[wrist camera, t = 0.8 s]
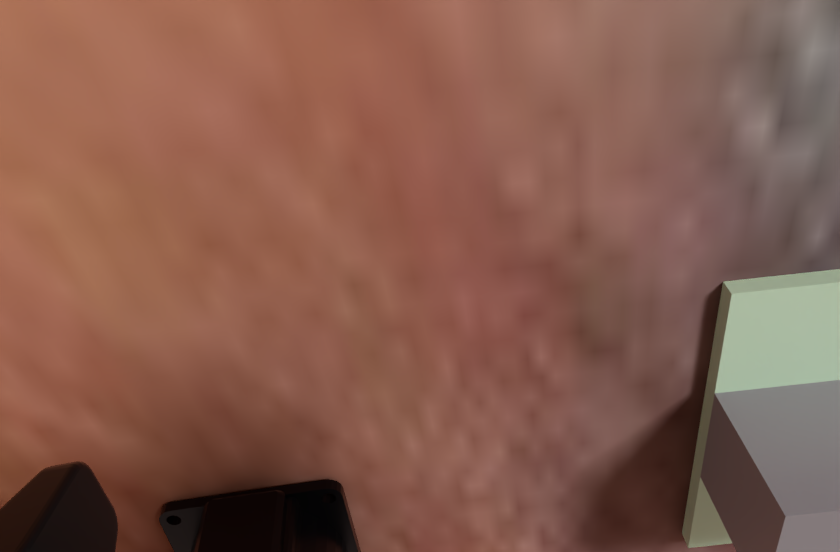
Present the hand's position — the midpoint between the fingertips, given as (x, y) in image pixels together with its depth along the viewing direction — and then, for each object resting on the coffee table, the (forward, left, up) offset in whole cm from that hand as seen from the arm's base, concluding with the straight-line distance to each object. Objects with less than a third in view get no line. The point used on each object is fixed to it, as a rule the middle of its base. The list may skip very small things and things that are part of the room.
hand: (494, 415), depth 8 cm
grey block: (-14, -11, -13) cm, 22 cm away
